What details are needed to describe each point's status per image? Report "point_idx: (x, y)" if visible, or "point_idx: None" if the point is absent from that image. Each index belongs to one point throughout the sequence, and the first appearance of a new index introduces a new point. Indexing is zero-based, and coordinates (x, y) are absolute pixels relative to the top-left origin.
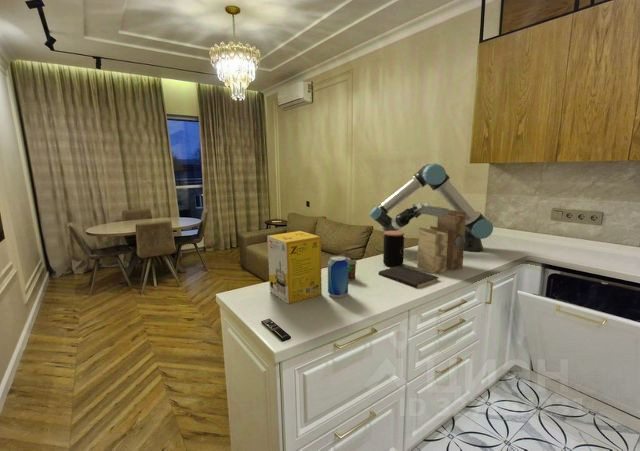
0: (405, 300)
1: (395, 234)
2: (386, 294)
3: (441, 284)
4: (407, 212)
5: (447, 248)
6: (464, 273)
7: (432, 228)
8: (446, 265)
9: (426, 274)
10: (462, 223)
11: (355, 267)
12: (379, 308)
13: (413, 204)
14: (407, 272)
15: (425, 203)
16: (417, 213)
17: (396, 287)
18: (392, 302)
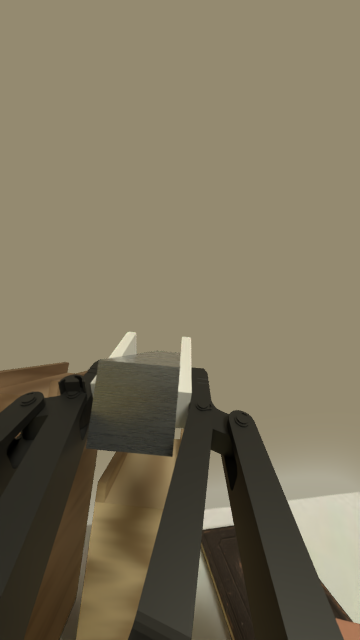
0: (307, 500)
1: None
2: (354, 536)
3: (206, 519)
4: (199, 540)
5: (73, 534)
6: (84, 546)
7: (112, 479)
8: (59, 628)
9: (219, 566)
10: None
11: None
12: (355, 499)
13: (170, 366)
14: None
15: (130, 343)
16: (69, 491)
17: (331, 560)
18: (333, 504)
